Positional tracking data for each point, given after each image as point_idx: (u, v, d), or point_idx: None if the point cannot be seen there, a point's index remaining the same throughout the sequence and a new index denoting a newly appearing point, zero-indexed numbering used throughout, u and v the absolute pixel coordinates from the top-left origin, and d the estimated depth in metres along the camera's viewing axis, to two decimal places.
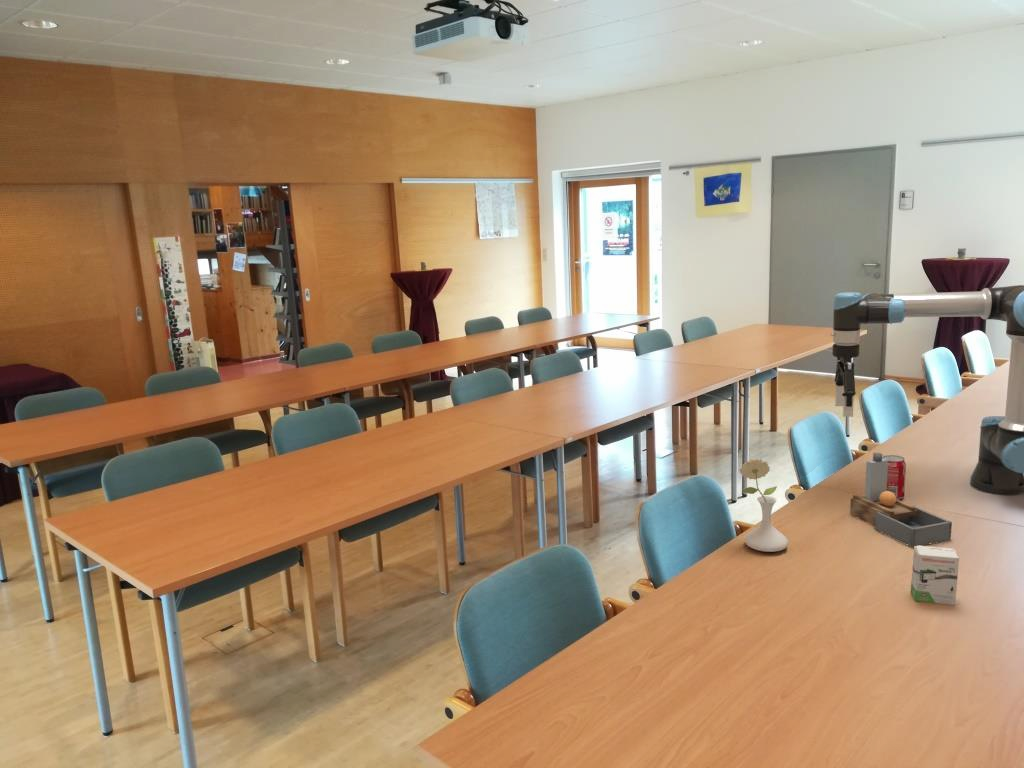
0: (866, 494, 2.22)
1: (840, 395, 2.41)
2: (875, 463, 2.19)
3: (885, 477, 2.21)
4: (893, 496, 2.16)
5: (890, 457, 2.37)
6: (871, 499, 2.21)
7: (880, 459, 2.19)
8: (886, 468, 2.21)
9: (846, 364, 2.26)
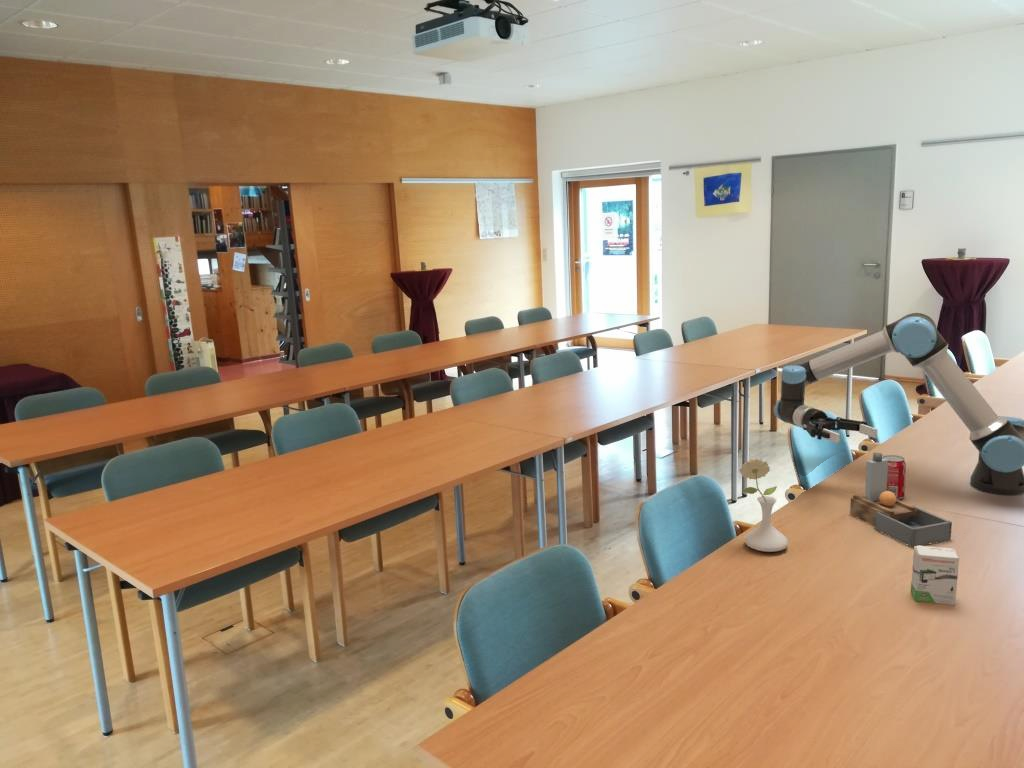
0: (866, 494, 2.22)
1: (866, 430, 2.33)
2: (875, 463, 2.19)
3: (885, 477, 2.21)
4: (893, 496, 2.16)
5: (890, 457, 2.37)
6: (871, 499, 2.21)
7: (880, 459, 2.19)
8: (886, 468, 2.21)
9: (803, 428, 2.41)
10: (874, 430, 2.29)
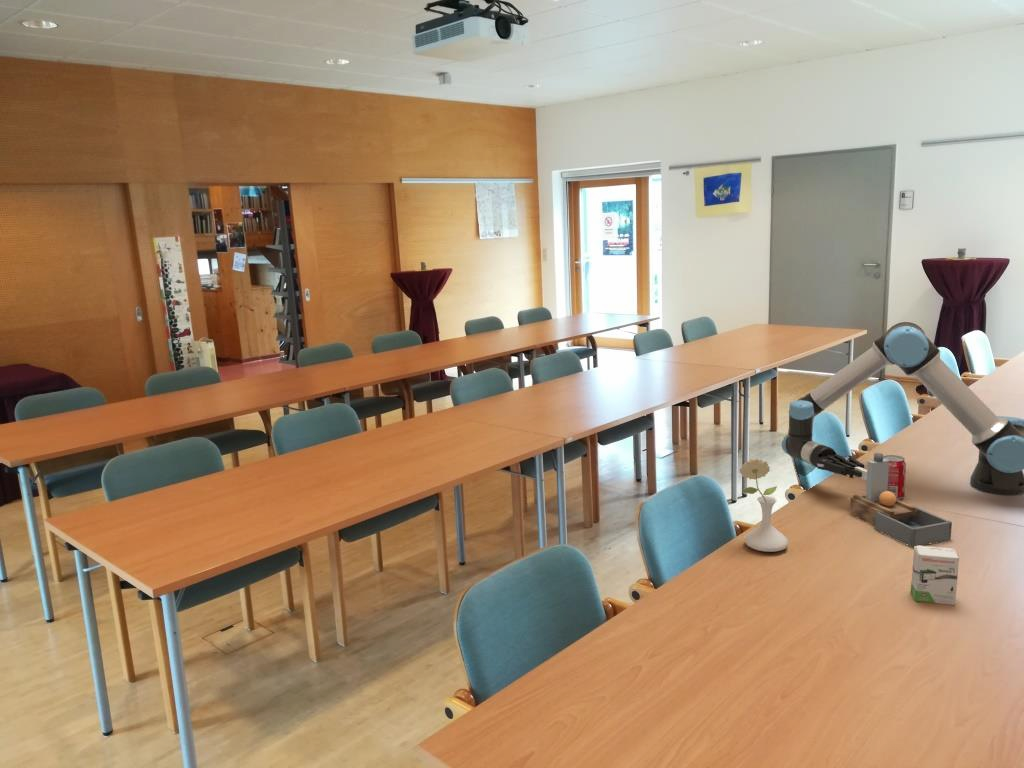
0: (867, 494, 2.22)
1: None
2: (876, 463, 2.19)
3: (886, 477, 2.21)
4: (893, 496, 2.16)
5: (890, 457, 2.37)
6: (872, 499, 2.21)
7: (881, 459, 2.19)
8: (887, 468, 2.20)
9: (818, 467, 2.36)
10: None
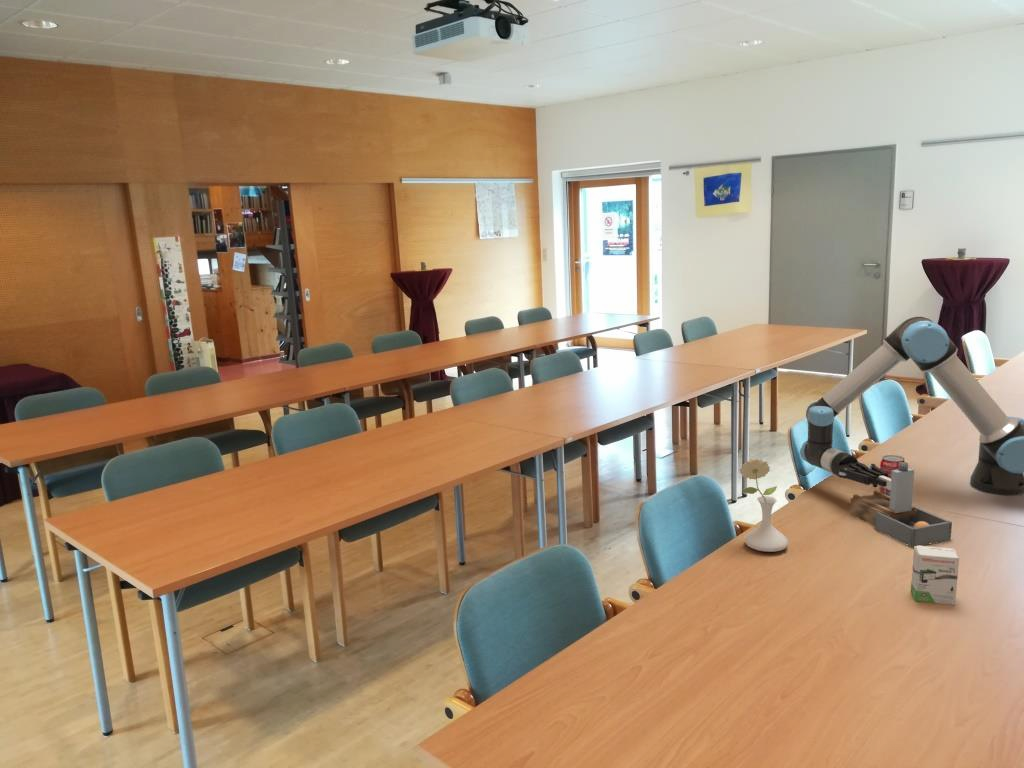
0: (891, 505, 2.13)
1: None
2: (901, 473, 2.10)
3: (911, 487, 2.12)
4: None
5: (890, 457, 2.37)
6: (896, 510, 2.12)
7: (906, 469, 2.10)
8: (912, 478, 2.11)
9: (840, 476, 2.27)
10: None
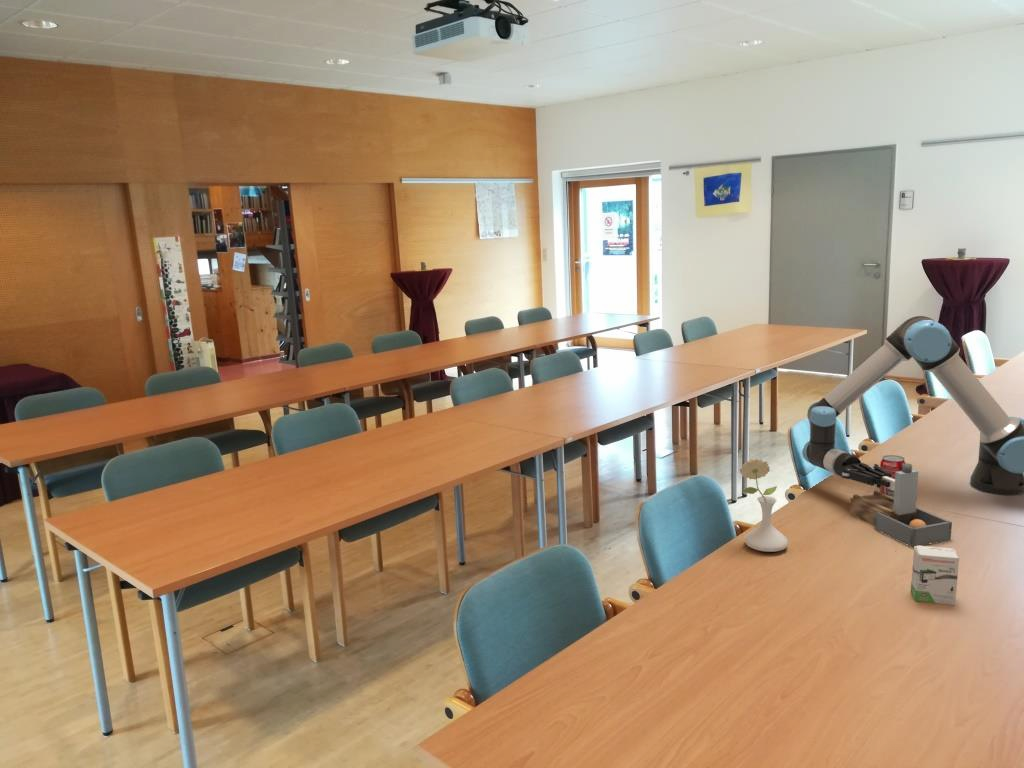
0: (895, 507, 2.12)
1: None
2: (904, 474, 2.09)
3: (915, 489, 2.11)
4: (921, 520, 2.07)
5: (890, 457, 2.37)
6: (900, 512, 2.11)
7: (910, 470, 2.09)
8: (916, 479, 2.10)
9: (843, 476, 2.26)
10: None
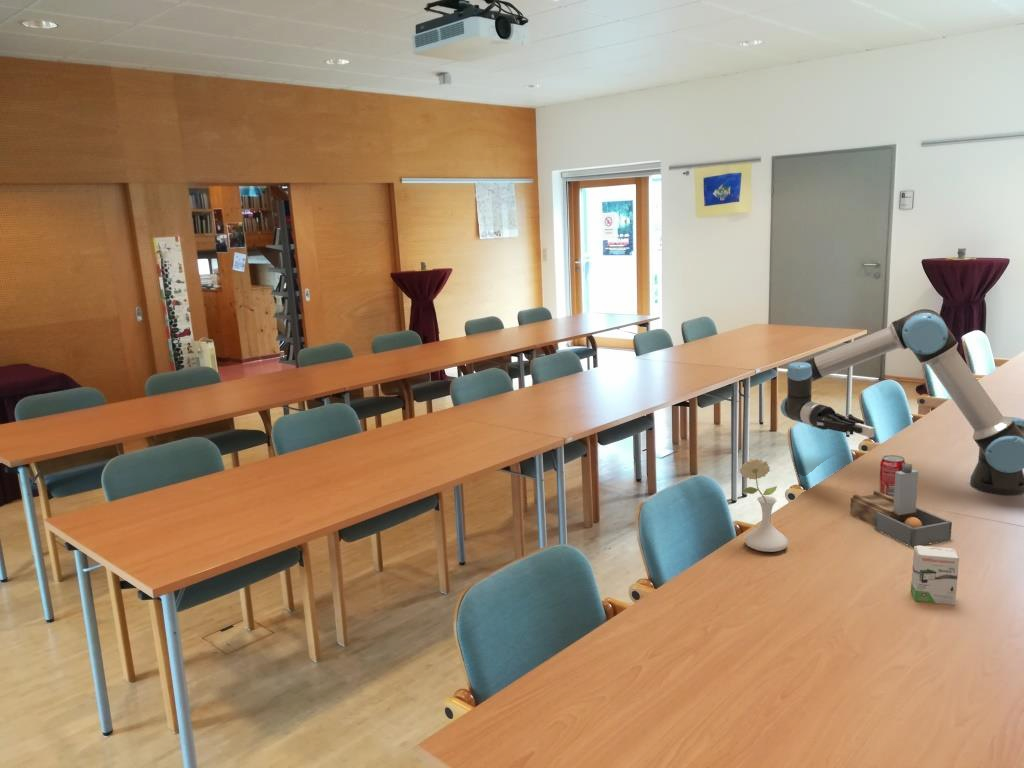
0: (895, 507, 2.12)
1: None
2: (904, 474, 2.09)
3: (915, 489, 2.11)
4: (912, 517, 2.10)
5: (890, 457, 2.37)
6: (900, 512, 2.11)
7: (910, 470, 2.09)
8: (916, 479, 2.10)
9: (818, 426, 2.34)
10: None
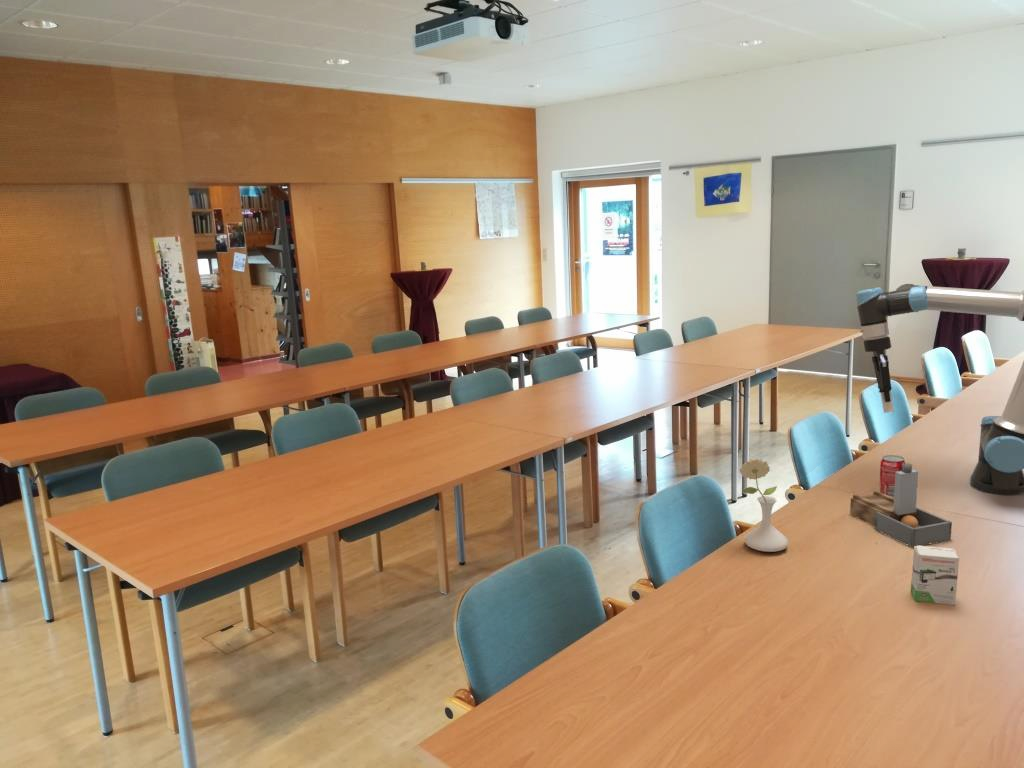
0: (895, 507, 2.12)
1: None
2: (904, 474, 2.09)
3: (915, 489, 2.11)
4: None
5: (890, 457, 2.37)
6: (900, 512, 2.11)
7: (910, 470, 2.09)
8: (916, 479, 2.10)
9: (881, 363, 2.31)
10: None
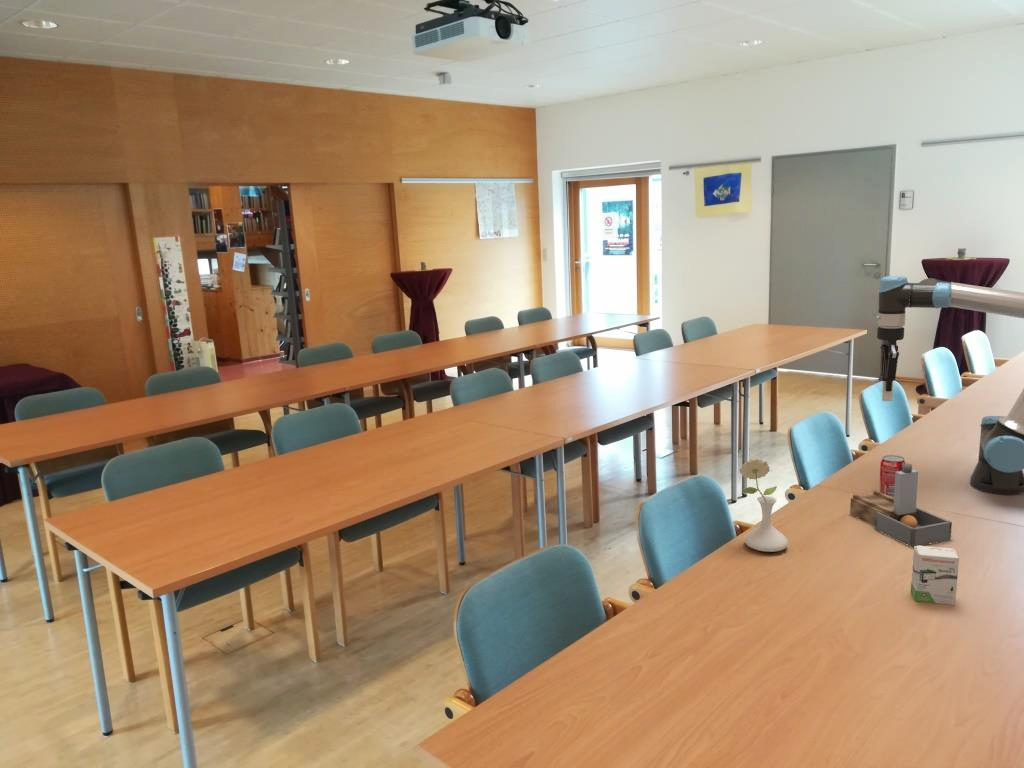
0: (895, 507, 2.12)
1: None
2: (904, 474, 2.09)
3: (915, 489, 2.11)
4: None
5: (890, 457, 2.37)
6: (900, 512, 2.11)
7: (910, 470, 2.09)
8: (916, 479, 2.10)
9: (891, 354, 2.31)
10: None
